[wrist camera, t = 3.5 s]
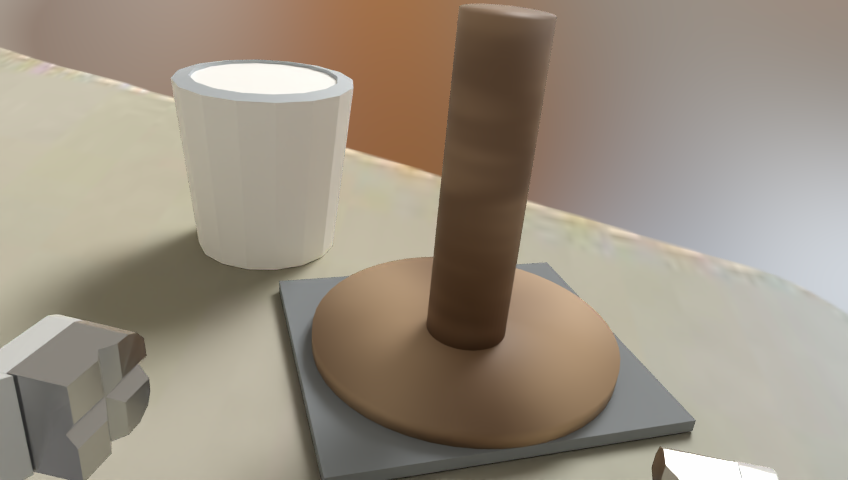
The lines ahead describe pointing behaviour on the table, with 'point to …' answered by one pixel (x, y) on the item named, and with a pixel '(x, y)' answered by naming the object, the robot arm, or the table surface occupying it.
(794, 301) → the table surface
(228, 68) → the white cup
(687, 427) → the mat
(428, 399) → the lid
